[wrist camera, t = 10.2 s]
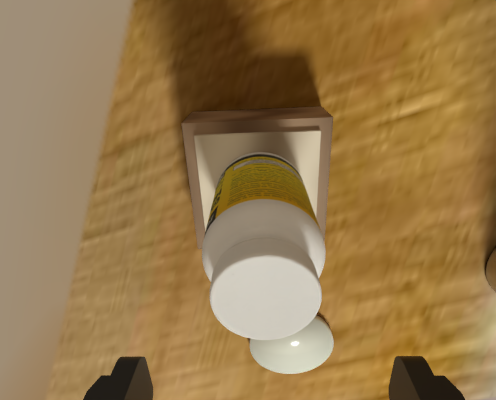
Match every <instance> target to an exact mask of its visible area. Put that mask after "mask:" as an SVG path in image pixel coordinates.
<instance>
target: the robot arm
mask: <svg viewBox="0 0 496 400" xmlns="http://www.w3.org/2000/svg"><path fill="white" fill-rule="evenodd" d="M486 278H487V281H488V283H489V285H490V286H491V287H492V288H493V290H494V291H495V292H496V248H495V250H494V251H493V252H492V254H491V256H490V258H489V260H488V262H487V267H486ZM389 399H390V400H465V398H464V397H463V395H462V393H461V392H460V391H459V390H458V389H457V388H456V387H455V386H454V385H453V384H452V383H451V382H450V381H449V380H448V379H447V378H446V377H445V376H434V374H433V373H432V371H431V369H430V367H429V365H428V363H427V361H426V360H425V359H424V358H423V357H422V356H397V357H396V358H395V360H394V365H393V370H392V374H391V379H390V384H389ZM83 400H153V386H152V382H151V378H150V374H149V370H148V366H147V362H146V359H145V357H120V358H119V359H118V361H117V362H116V364H115V367H114V369H113V371H112V373H111V376H101V377H100V378H99V379H98V380H97V381H96V382H95V383H94V384H93V385H92V387H91V388H90V389H89V390H88V391H87V393H86V395H85V397H84V399H83Z"/></svg>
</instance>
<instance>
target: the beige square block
mask: <svg viewBox="0 0 496 400" xmlns="http://www.w3.org/2000/svg"><path fill="white" fill-rule="evenodd" d="M181 124H182V131H183V139H184V147H185V154H186V162H187V169H188V177H189V185H190V192H191V200H192V207H193V215H194V222H195V230H196V238H197V245H198V249H202V246H203V241H204V236H205V232H206V227H207V224H208V219H209V215H210V211H211V207H212V203H213V199H214V195H215V190H216V186H217V184H218V181H219V178H220V176H221V174H222V173H223V171H224V170H225V168H226V167H227V166H228V165H229V164H230V163H231V162H232V161H234V160H235V159H237V158H239V157H241V156H243V155H246V154H249V153H254V152H266V153H272V154H276V155H278V156H281V157H283V158H284V159H286V160H287V161H289V162H290V163H291V164H292V165H293V166H294V167H295V168H296V169H297V171H298V172H299V174H300V176H301V178H302V180H303V183H304V185H305V188H306V191H307V194H308V197H309V199H310V202H311V205H312V208H313V211H314V213H315V216H316V219H317V221H318V224H319V227H320V230H321V232H322V235H323V239H324V240H325V226H326V212H327V197H328V183H329V169H330V154H331V140H332V126H333V117H332V116H331V115H330V114H329V113H328V112H327V111H326V110H325V109H324V108H322V107H297V108H274V109H250V110H226V111H202V112H191V113H190V114H189V115H188V117H187V118H186V119H185V120H184V121H183V122H182V123H181Z"/></svg>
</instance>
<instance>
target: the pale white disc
mask: <svg viewBox="0 0 496 400" xmlns="http://www.w3.org/2000/svg"><path fill="white" fill-rule="evenodd" d="M332 349H333V336H332V333H331V330H330V327H329V326H328V324H327V323H326V322H325V321H324V320H323V319H322V318H321V317H319V316H318V315H316V316H315V317H314V319H313V320H312V321H311V322H310V323H309V324H308V325H307V326H306V327H304V328H303V329H301V330H300V331H298V332H296V333H295V334H292V335H290V336H287V337H284V338H280V339H273V340H256V339H251V338H250V351H251V354H252V356H253V358H254V359H255V360H256V361H257V362H258V363H259V364H260V365H261V366H263V367H265V368H266V369H269V370H271V371H274V372H278V373H284V374H295V373H302V372H306V371H309V370H312V369H314V368H316V367H318V366H319V365H321V364H322V363H323V362H324V361H326V360H327V358H328V357H329V356H330V354H331V352H332Z"/></svg>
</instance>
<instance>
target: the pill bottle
mask: <svg viewBox="0 0 496 400" xmlns="http://www.w3.org/2000/svg"><path fill="white" fill-rule="evenodd" d="M202 260H203V266H204V269H205V272H206V274H207V276H208V278H209V280H210V281H211V287H210V304H211V307H212V310H213V312H214V314H215V316H216V317H217V319H218V320H219V321H220V322H221V323H222V324H223V325H224V326H225V327H226V328H227V329H229V330H230V331H232V332H234V333H236V334H238V335H240V336H243V337H246V338H251V339H256V340H273V339H280V338H284V337H287V336H290V335H292V334H295V333H296V332H298V331H300V330H301V329H303V328H304V327H306V326H307V325H308V324H309V323H310V322H311V321H312V320H313V319H314V317H315V316H316V314H317V312H318V310H319V307H320V304H321V299H322V293H321V286H320V282H319V277H320V274H321V272H322V269H323V267H324V262H325V244H324V239H323V235H322V232H321V230H320V227H319V224H318V221H317V219H316V216H315V213H314V211H313V208H312V205H311V202H310V199H309V197H308V194H307V191H306V188H305V185H304V183H303V180H302V178H301V176H300V174H299V172H298V171H297V169H296V168H295V167H294V166H293V165H292V164H291V163H290V162H289V161H287V160H286V159H284V158H283V157H281V156H278V155H276V154H272V153H266V152H254V153H249V154H246V155H243V156H241V157H239V158H237V159H235V160H234V161H232V162H231V163H230V164H229V165H228V166H227V167H226V168H225V170H224V171H223V173H222V174H221V176H220V178H219V181H218V184H217V186H216V190H215V195H214V199H213V203H212V207H211V211H210V215H209V219H208V224H207V227H206V232H205V236H204V241H203V246H202Z"/></svg>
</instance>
